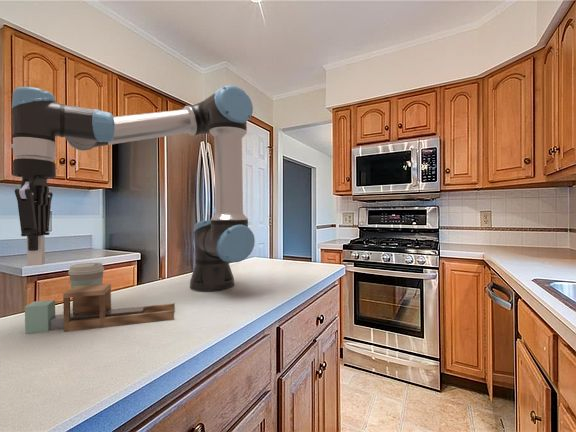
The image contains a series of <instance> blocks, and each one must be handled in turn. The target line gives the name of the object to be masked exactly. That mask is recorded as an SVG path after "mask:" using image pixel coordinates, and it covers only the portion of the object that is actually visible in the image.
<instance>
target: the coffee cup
mask: <svg viewBox="0 0 576 432" xmlns="http://www.w3.org/2000/svg"><path fill="white" fill-rule="evenodd" d="M104 271H105V267H104V265H103V263H102V262H84V263H78V264H77V263H76V264H73V265H70V267H69V268H68V272H67V275H69V282H70V289H71V288H72V287H74V286H87V285H101V284H103V278H104Z"/></svg>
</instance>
